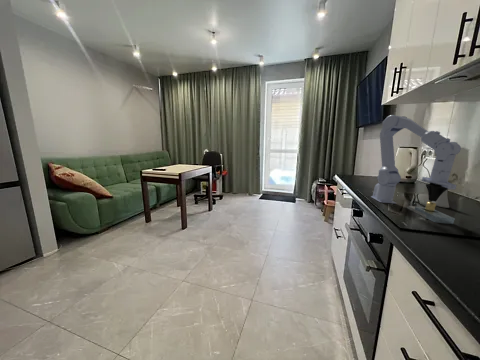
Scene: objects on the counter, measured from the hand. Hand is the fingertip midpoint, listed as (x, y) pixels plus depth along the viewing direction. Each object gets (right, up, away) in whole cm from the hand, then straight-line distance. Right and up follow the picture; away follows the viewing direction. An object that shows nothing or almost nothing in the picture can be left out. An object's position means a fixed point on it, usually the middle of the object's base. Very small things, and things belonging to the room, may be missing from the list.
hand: (432, 200), depth 88 cm
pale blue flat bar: (0, -7, +2) cm, 7 cm away
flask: (+20, -4, +17) cm, 27 cm away
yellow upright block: (0, -7, +2) cm, 7 cm away
